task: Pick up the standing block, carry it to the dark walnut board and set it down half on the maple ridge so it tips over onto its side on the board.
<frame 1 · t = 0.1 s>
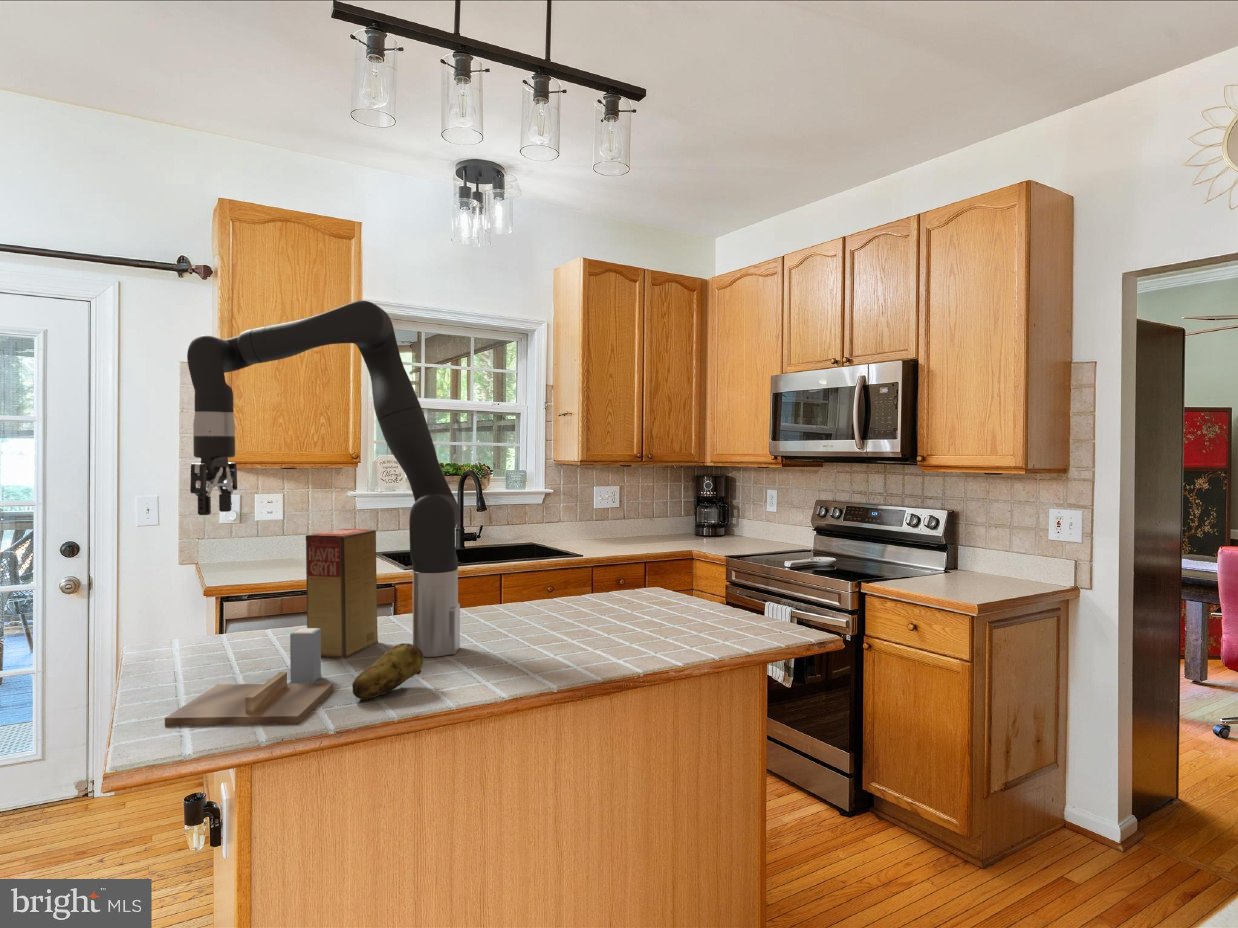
hand: (215, 513, 150), 29 cm above the table, fingers open, 8 cm apart
board: (255, 706, 120), on the table
food packaging: (343, 649, 155), on the table
block: (305, 679, 134), on the table
potato: (387, 694, 127), on the table
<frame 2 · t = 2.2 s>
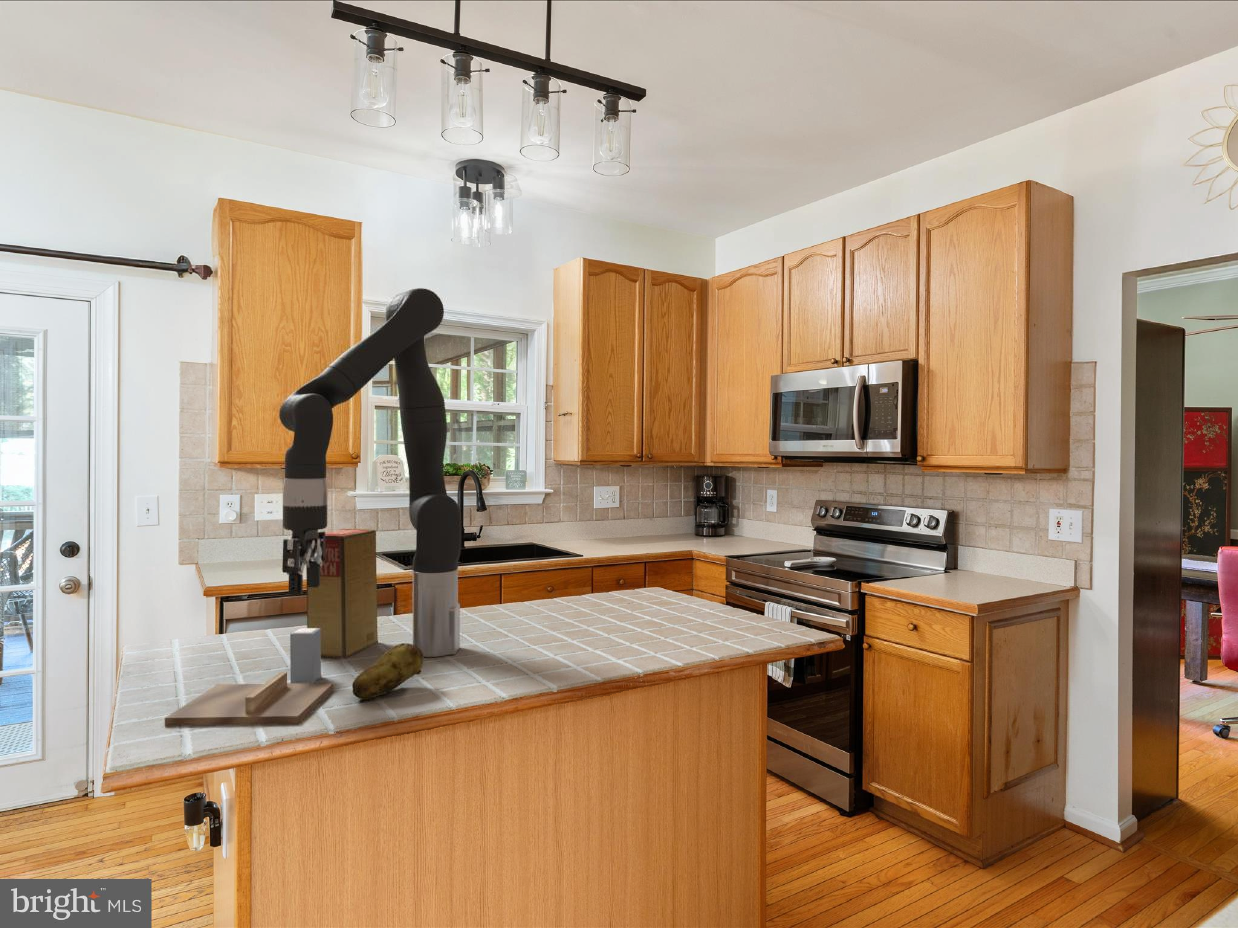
hand: (304, 591, 134), 16 cm above the table, fingers open, 8 cm apart
nothing on the table moved.
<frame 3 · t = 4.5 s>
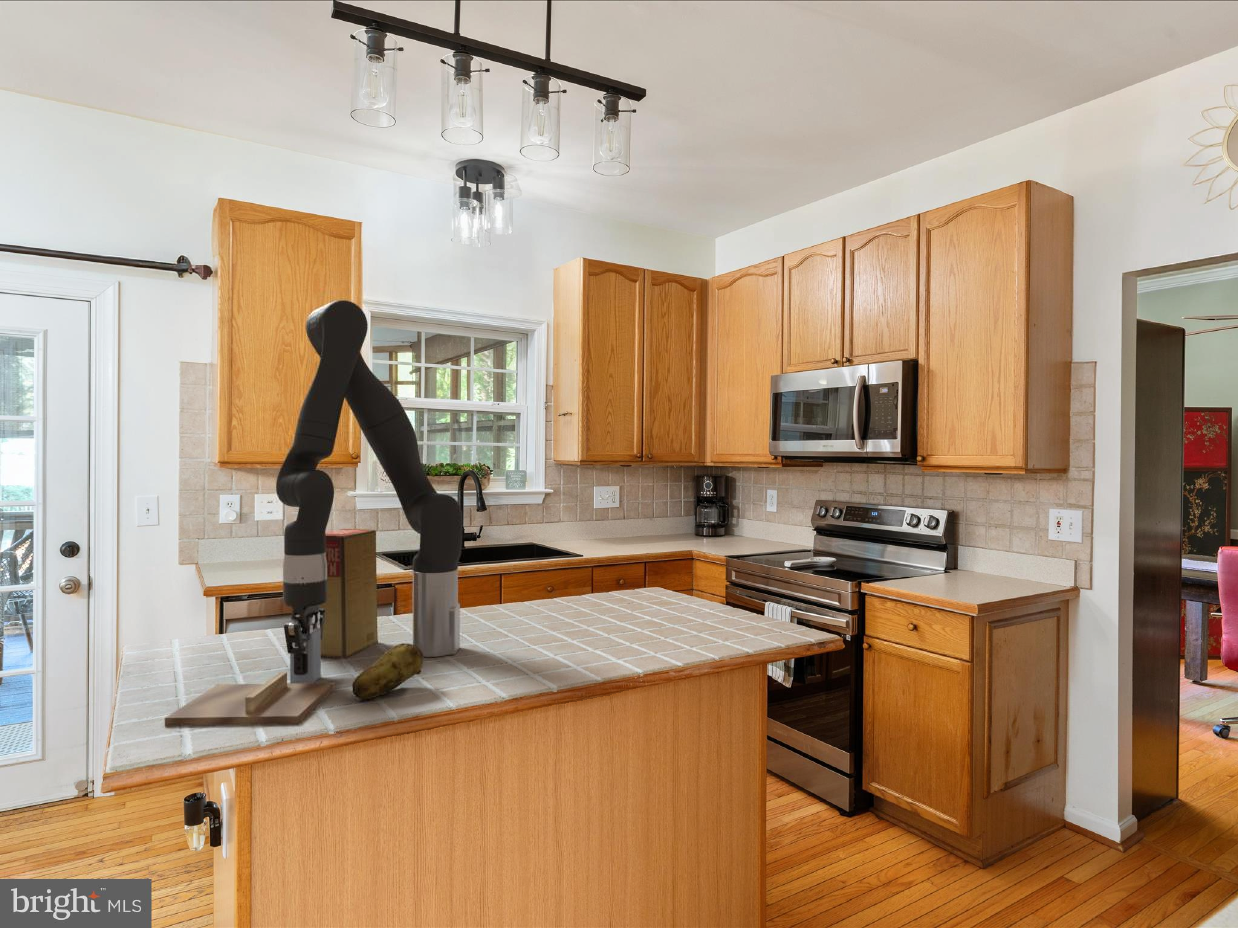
hand: (305, 669, 134), 2 cm above the table, fingers closed on block, 4 cm apart
block: (305, 679, 134), on the table, touching gripper
everything else where it was.
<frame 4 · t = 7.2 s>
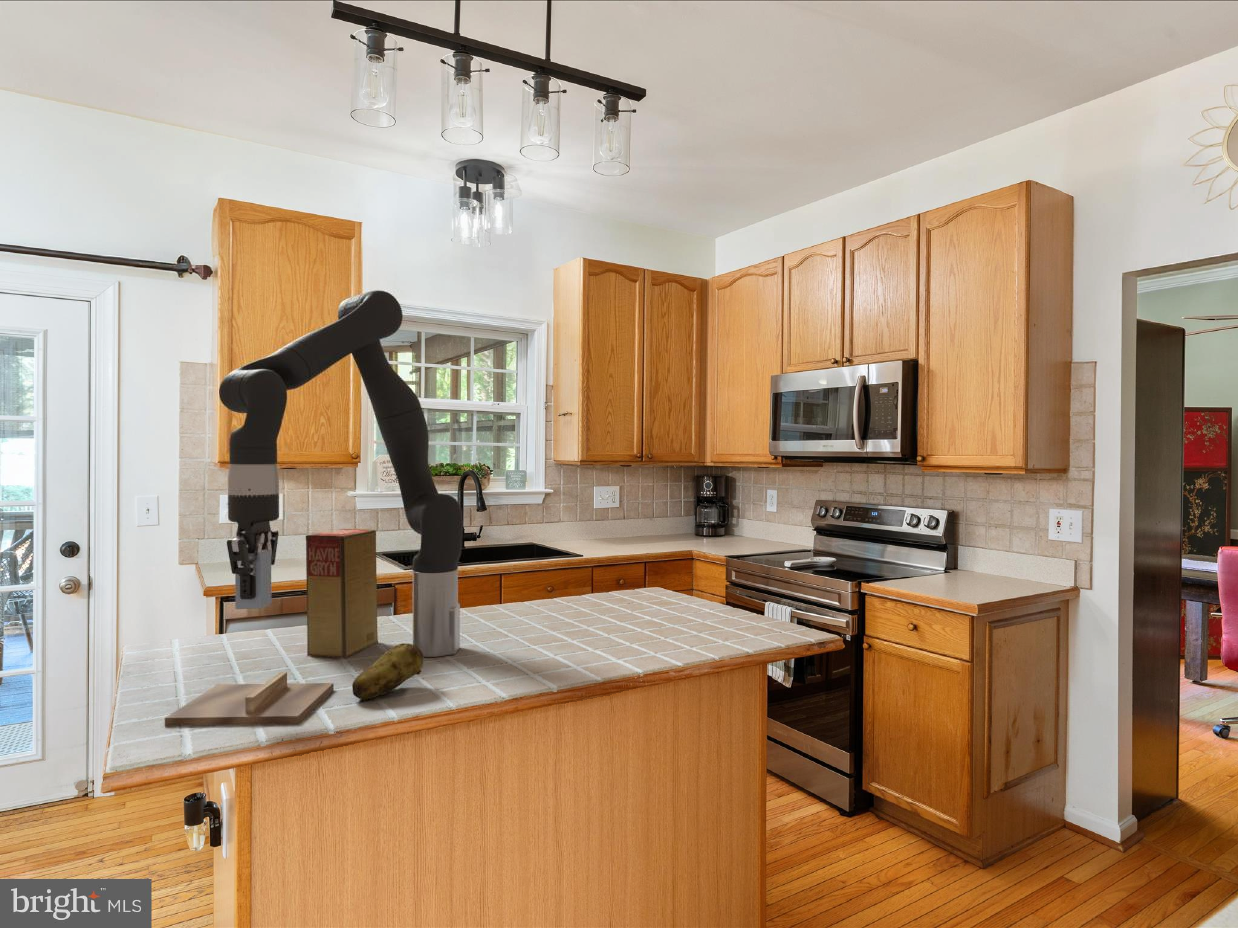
hand: (254, 595, 120), 18 cm above the table, fingers closed on block, 4 cm apart
block: (253, 606, 120), point 17 cm above the table, touching gripper
everything else where it was.
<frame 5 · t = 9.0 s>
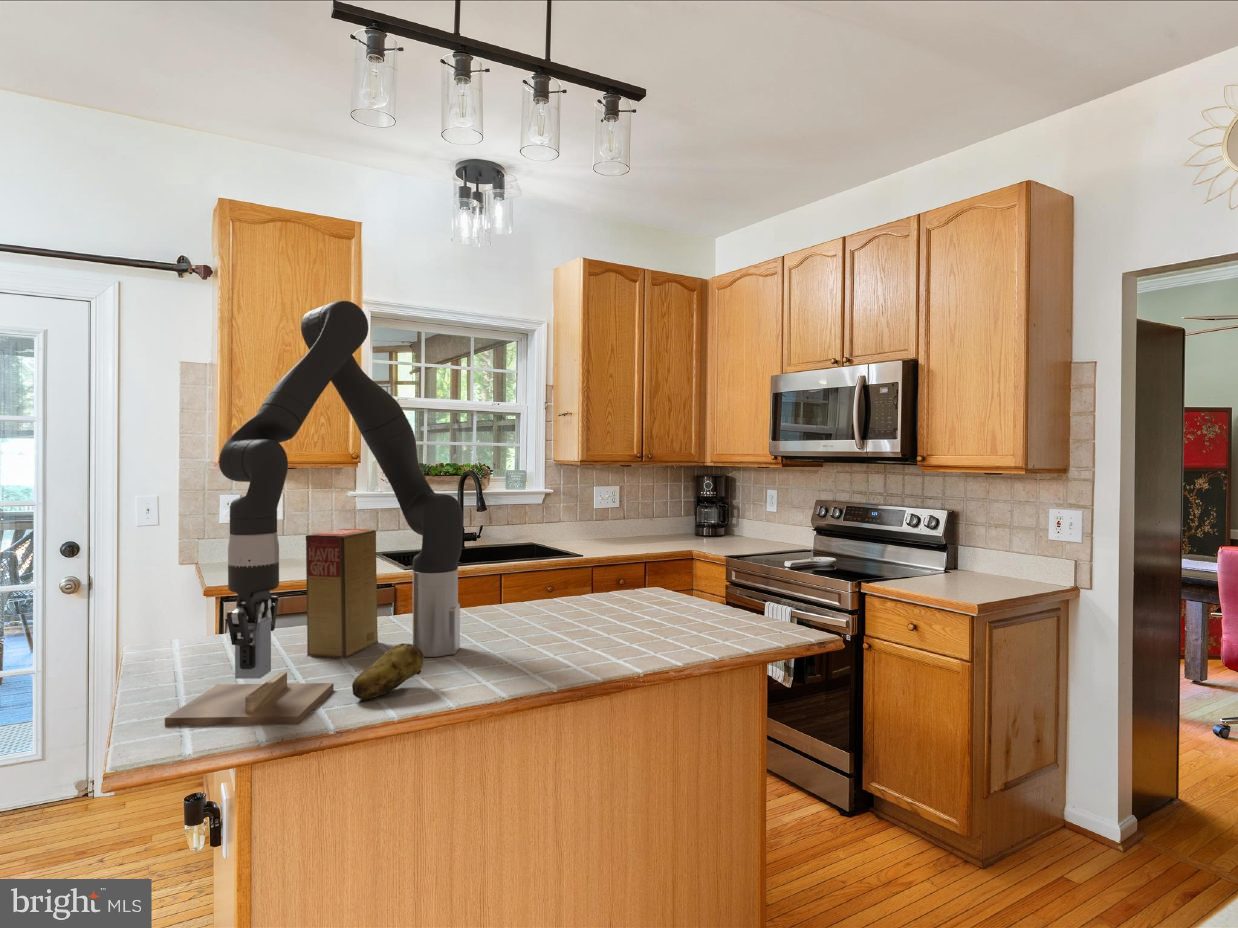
hand: (254, 663, 120), 7 cm above the table, fingers closed on block, 4 cm apart
block: (253, 674, 120), point 5 cm above the table, touching gripper
everything else where it was.
when the fingers open (6 cm above the table, at t = 10.1 s): block moves 2 cm and tips over, resting on board.
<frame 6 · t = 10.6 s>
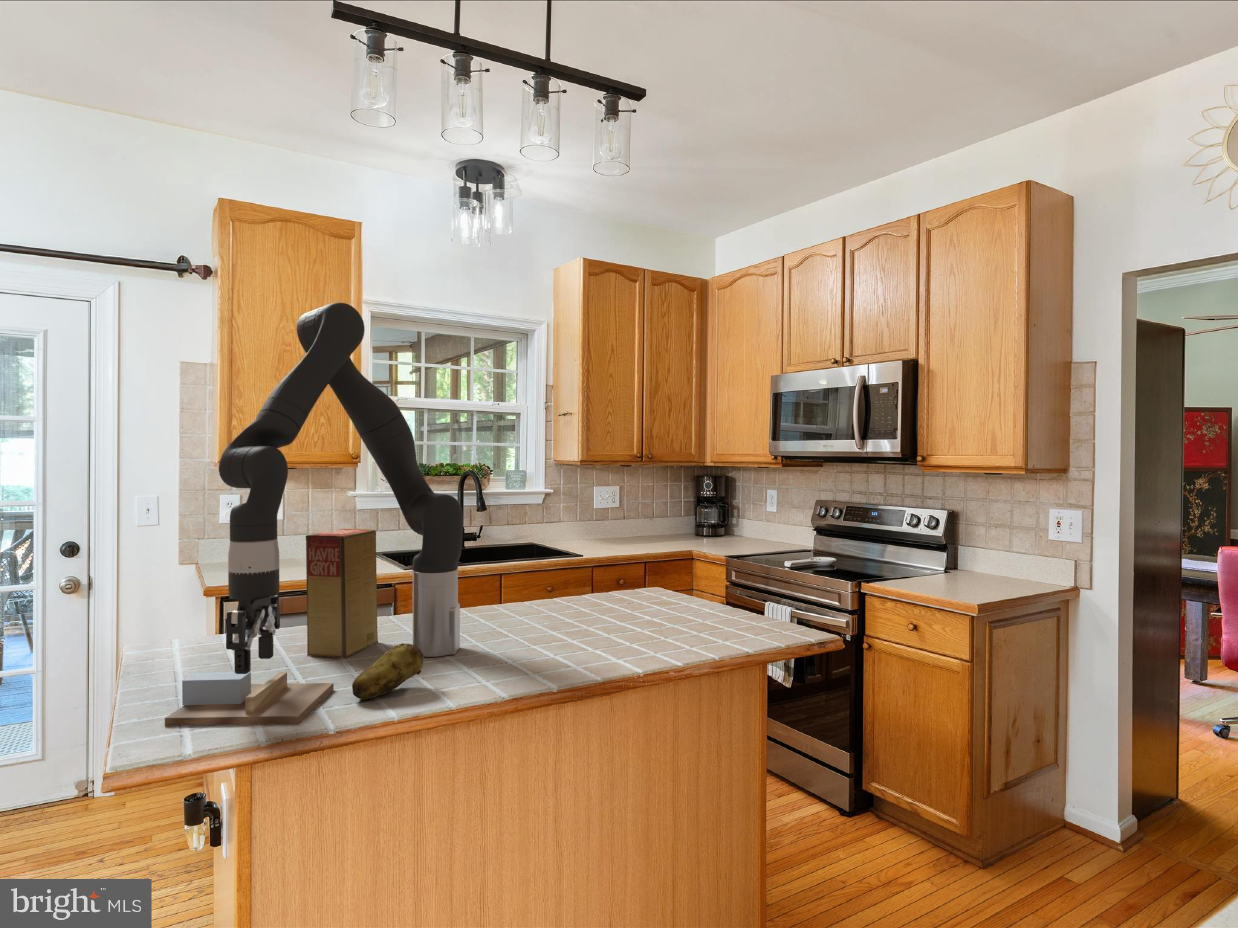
hand: (254, 665, 120), 7 cm above the table, fingers open, 8 cm apart
block: (245, 687, 120), point 3 cm above the table, tilted 90°, touching board
everything else where it was.
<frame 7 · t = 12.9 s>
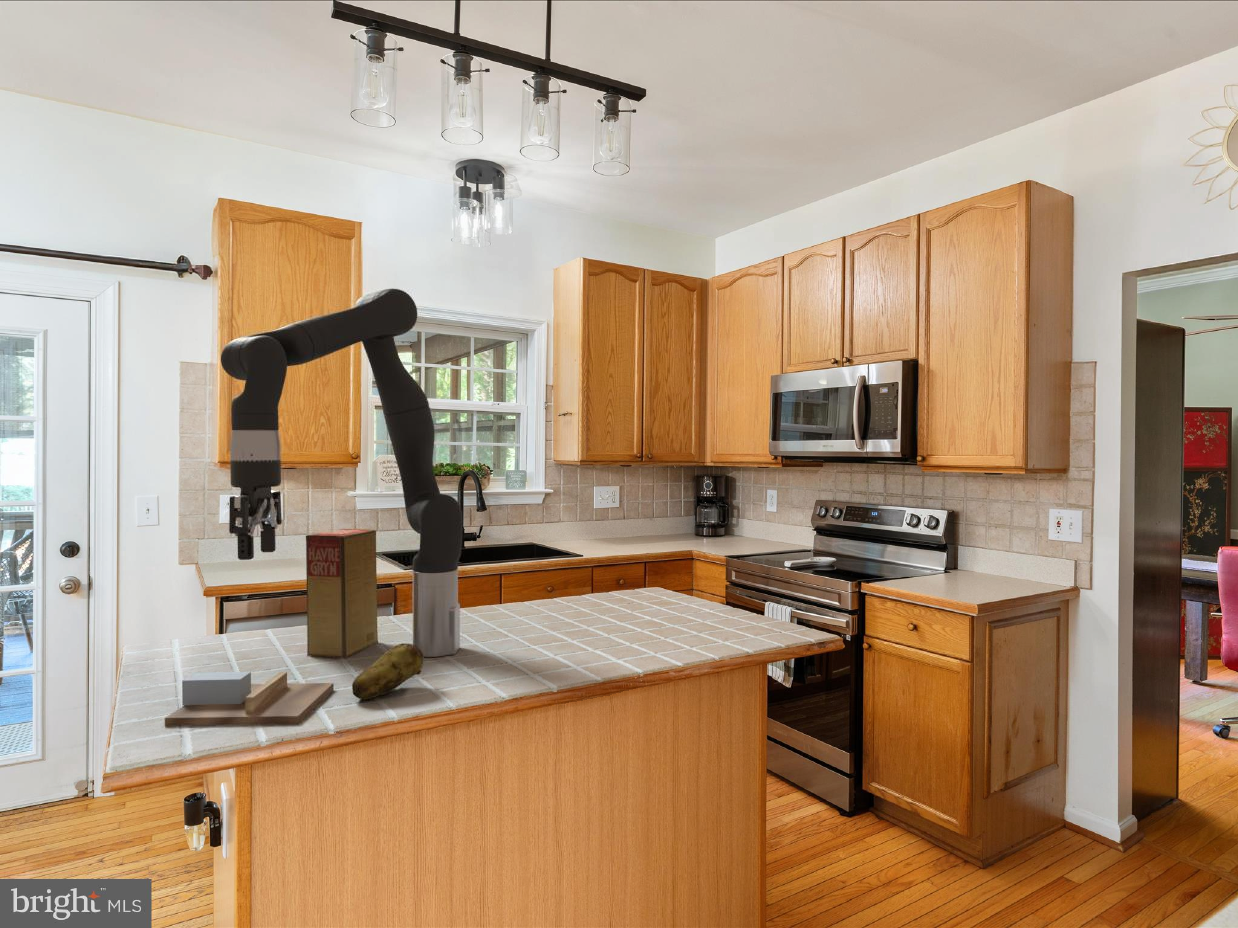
hand: (257, 555, 121), 25 cm above the table, fingers open, 8 cm apart
nothing on the table moved.
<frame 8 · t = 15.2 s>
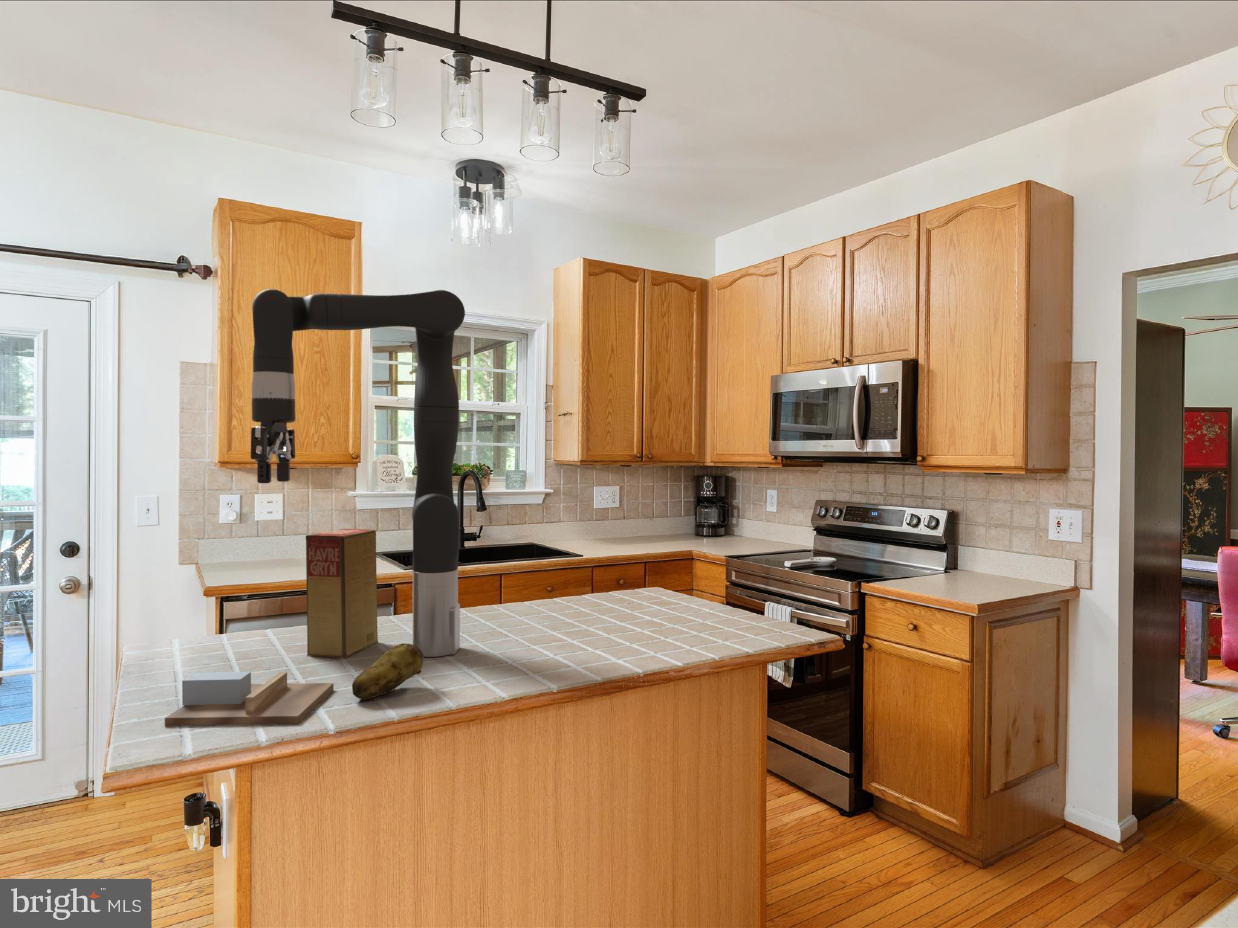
hand: (274, 482, 139), 36 cm above the table, fingers open, 8 cm apart
nothing on the table moved.
at the end: block tilted 90°; block inside the target area on the board (3.1 cm from its centre), point 3.2 cm above the board's base; the gripper is holding nothing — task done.
